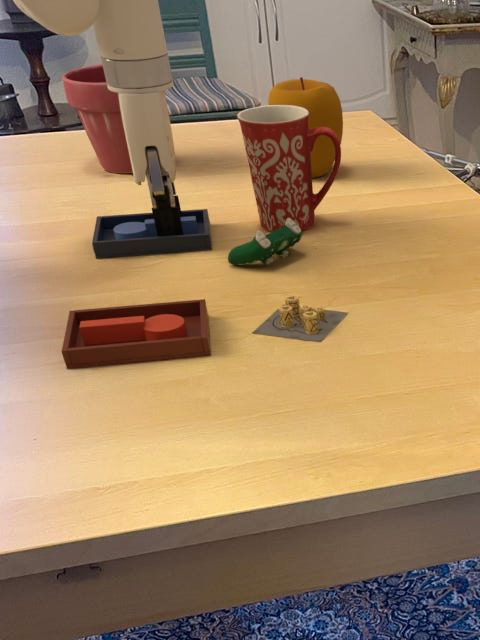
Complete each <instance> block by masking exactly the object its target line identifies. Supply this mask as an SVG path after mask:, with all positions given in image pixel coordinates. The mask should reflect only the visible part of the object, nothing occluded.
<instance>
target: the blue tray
mask: <svg viewBox="0 0 480 640" xmlns="http://www.w3.org/2000/svg"><path fill="white" fill-rule="evenodd" d="M181 213H182V217H190V216H196V221H197V226H198V233H199V234H188V235H174V236H161V237H147V238H133V239H120V240H116V238H115V234H114V230H113V229H114V227H115V226H117V225H119V224H123V223H127V222H142V223H145V220H147V219H154V217H153V213H152V212H142V213H129V214H128V213H127V214H112V215H111V214H110V215H102V216H101V215H100V216H96V219H95V225H94V230H93V235H92V241H91V245H92V249H93V253H94V257H95V259H109V258H121V257H122V258H123V257H134V256H146V255H147V256H148V255H157V254H158V255H159V254H160V255H161V254H172V253H186V252H188V253H189V252H199V251H200V252H201V251H212V250H213V244H212V233H211V232H212V231H211V221H210V216H209V211H208V208H202V209H199V208H198V209H185V210H181Z"/></svg>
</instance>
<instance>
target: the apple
mask: <svg viewBox="0 0 480 640" xmlns="http://www.w3.org/2000/svg"><path fill="white" fill-rule="evenodd" d="M267 103H268V104H267V106H268V105H292V106H298V107H302V108H305V109H307V110H308V112H309V117H308V128H309V130H312V129H314V128H317V127H327V128H330V129H331V130H333V131H334V132H335V133H336V135H337V136H338V138H339V141H340V146H341V145H342V140H343V133H344V119H343V108H342V103H341V99H340V97H339V95H338V93H337V91H336V89H335V87H334V86H333V85H331V84H329V83H327V82H324V81H321V80H320V81H319V80H315V79H306V78H305V79H304V78H303V76H301V77H299V79H298V78H295V79H289V80H284V81H281V82H278V83H277V84H275V85H274V86H273V87H272V88H271V89H270V91H269V94H268V98H267ZM310 157H311V172H312V179H315V178H319V177H322V176H324V175H325V174H326V173H328V172H329V171H331V170H332V169H333V166H334V162H335V147H334V144H333V141H332V140H331V138H329V137H328V136H325V135H320V136H318V137H317V139H316V140H315V142H314V146H313V150H312V152H311V153H310Z"/></svg>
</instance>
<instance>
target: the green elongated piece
mask: <svg viewBox="0 0 480 640" xmlns="http://www.w3.org/2000/svg"><path fill="white" fill-rule="evenodd" d="M302 236H303V230H302V231H301V229H300V228H299V226H297V225H296V223H295V222H294V221H293V220H292V219H290V218H287V220H286V223H284V225H283V227H282V228H279V229H276V230H274V231H273V232H270V233H267V234H265V233H264V232H263V231H261V230H259V229H258V230H257V231H256V232H255V236H254V237H253V238H252V240H250V241H247V242H245V243H243V244H240V245H237V246H235V247H233V248H232V249H230V251H229V252H228V255H227V261H228V263H229V264H231V265H233V266H245V265H252V264H256V263H258V262H261V263H262V264H265V265H267V266H269V265H271V264H272V263H273V261H274V259H273V256H274V255H277V256H279V257H281V258H285V257H287V256H288V255H289V253H290V252H289V251H288V250H289V248H292V247H294V246H295V245H296V244H298V243H299V242H300V241H301V239H302Z"/></svg>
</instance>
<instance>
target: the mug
mask: <svg viewBox="0 0 480 640" xmlns="http://www.w3.org/2000/svg"><path fill="white" fill-rule="evenodd" d="M308 117H309V112H308V110H307V109H305V108H302V107H298V106H292V105H268V104H267V105H261V106H254V107H250V108H245V109H243V110H241V111H240V112H238V113H237V115H236V118H237V120H238V122H239V126H240V130H241V134H242V139H243V140H242V141H243V145H244V149H245V154H246V159H247V164H248V169H249V174H250V178H251V184H252V188H253V194H254V198H255V202H256V208H257V214H258V218H259V222H260V226H261V228H262V229H263V230H265V231H267V232H270V233H272V232H273V231H274V230H276V229H279V228H282V227H283V225H284V223H286V220H287V218H290V219H292V220H293V221H294V222H295V223H296V225H297V226H299V228H300V229H301V231H302V232H303V231H305V230H307V229H310V228H311V227H313V226H314V225H315V223H316V214H315V211H316V209H317V208H318V206H319V205H320V204H321V202H322V201H323V199H324V198H325V197H326V195H327V194H328V193H329V190H330V189H331V187H332V185H333V184H334V181H335V179H336V178H337V174H338V172H339V171H340V166H341V162H342V147H341V145H340V141H339V138H338V136H337V135H336V133H335V132H334V131H333V130H331V129H330V128H327V127H317V128H314V129H312V130H309V128H308ZM320 135H325V136H328V137H329V138H331V140H332V141H333V144H334V147H335V161H334V163H333V166H332V168H331V170H330V173H329V175H328V177H327V179H326V181H325V182H324V184H323V186H322V187H321V188H320V190H319V191H318V192H317V193H314V190H313V188H314V187H313V186H314V185H313V178H312V172H311V157H310V153H311V152H312V150H313V146H314V142H315V140H316V139H317V137H318V136H320Z"/></svg>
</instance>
